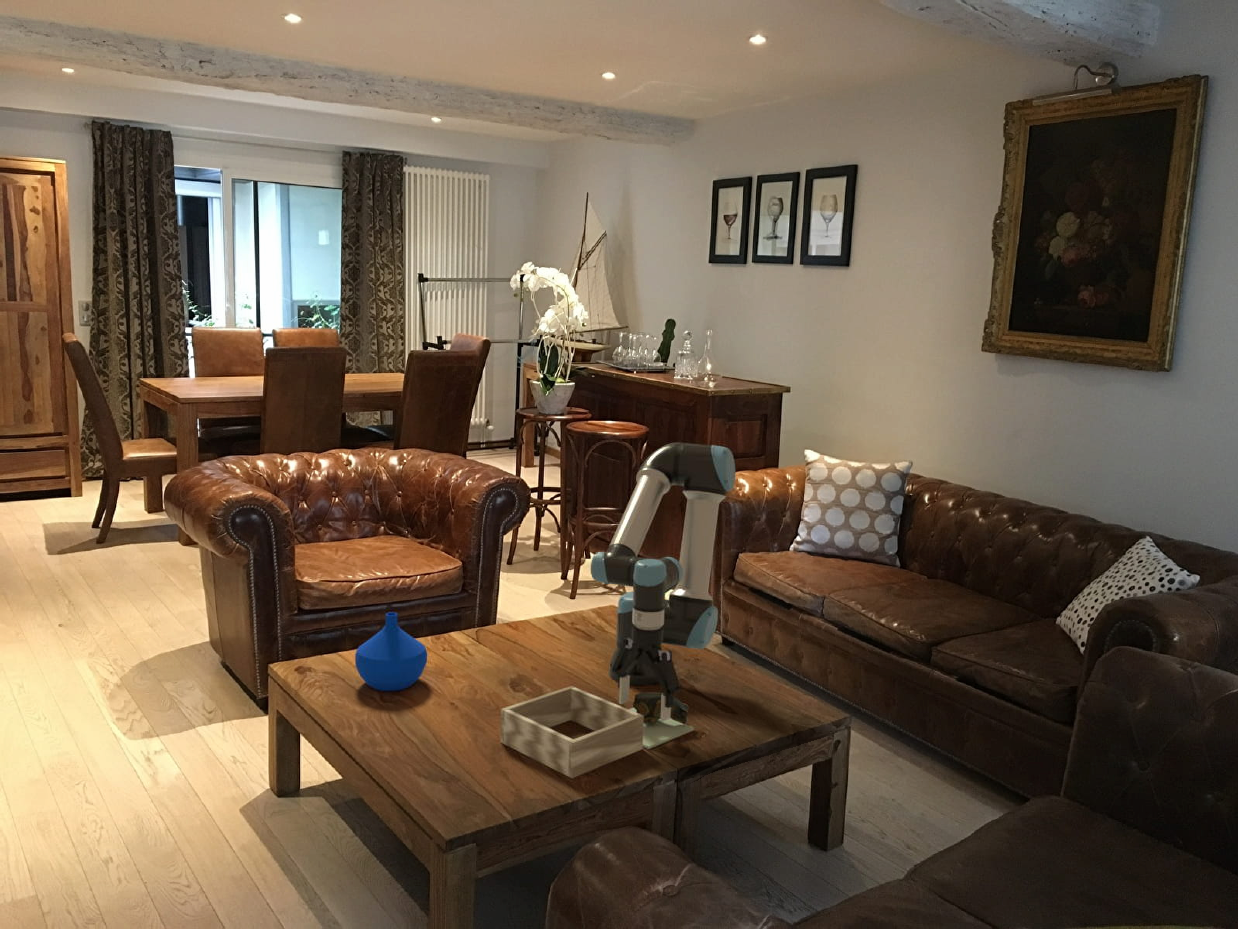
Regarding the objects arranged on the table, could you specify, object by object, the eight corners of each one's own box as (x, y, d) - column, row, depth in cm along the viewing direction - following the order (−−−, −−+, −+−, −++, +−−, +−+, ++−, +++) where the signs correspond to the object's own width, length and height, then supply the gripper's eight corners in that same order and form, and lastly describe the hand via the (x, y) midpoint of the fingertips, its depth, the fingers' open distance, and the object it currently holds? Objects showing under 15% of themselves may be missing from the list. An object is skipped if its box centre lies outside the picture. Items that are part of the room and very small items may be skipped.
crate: (500, 742, 234) (501, 709, 233) (570, 717, 249) (571, 686, 248) (572, 778, 217) (573, 743, 216) (642, 749, 233) (643, 715, 232)
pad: (593, 724, 245) (593, 722, 245) (638, 707, 257) (639, 705, 257) (648, 749, 233) (648, 746, 233) (693, 730, 244) (693, 727, 244)
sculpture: (688, 718, 249) (689, 691, 248) (687, 728, 242) (689, 700, 242) (633, 715, 250) (634, 688, 249) (632, 725, 243) (633, 697, 242)
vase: (340, 690, 261) (339, 618, 258) (382, 668, 278) (382, 600, 275) (401, 703, 254) (401, 629, 251) (440, 679, 271) (441, 610, 268)
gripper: (599, 616, 247) (596, 699, 250) (677, 642, 230) (673, 731, 233) (621, 610, 252) (617, 691, 255) (698, 635, 235) (694, 722, 238)
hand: (644, 710), depth 244 cm, fingers open, 13 cm apart
